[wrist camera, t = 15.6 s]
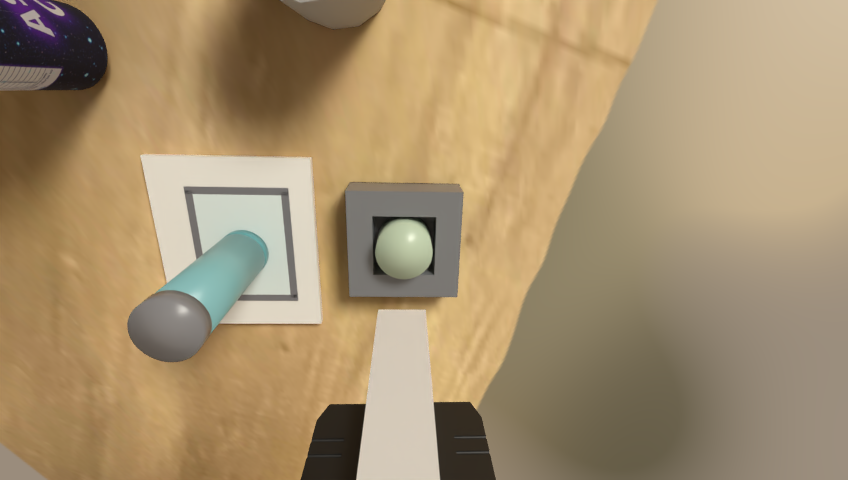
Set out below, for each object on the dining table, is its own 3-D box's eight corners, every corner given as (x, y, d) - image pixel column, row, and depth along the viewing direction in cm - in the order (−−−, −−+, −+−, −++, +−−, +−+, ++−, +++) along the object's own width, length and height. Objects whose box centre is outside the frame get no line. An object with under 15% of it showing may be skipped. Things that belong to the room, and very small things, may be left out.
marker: (216, 229, 34) (119, 300, 23) (266, 229, 34) (196, 300, 23) (223, 274, 36) (136, 362, 24) (271, 274, 36) (208, 361, 24)
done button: (377, 213, 34) (374, 225, 31) (431, 214, 34) (433, 226, 31) (378, 263, 35) (375, 279, 32) (429, 263, 35) (431, 279, 32)
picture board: (145, 153, 33) (139, 155, 32) (311, 157, 33) (309, 158, 32) (179, 319, 38) (174, 324, 37) (322, 319, 38) (321, 324, 38)
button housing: (350, 182, 34) (345, 190, 31) (458, 183, 34) (463, 192, 32) (353, 280, 37) (349, 296, 34) (453, 281, 38) (457, 297, 35)
